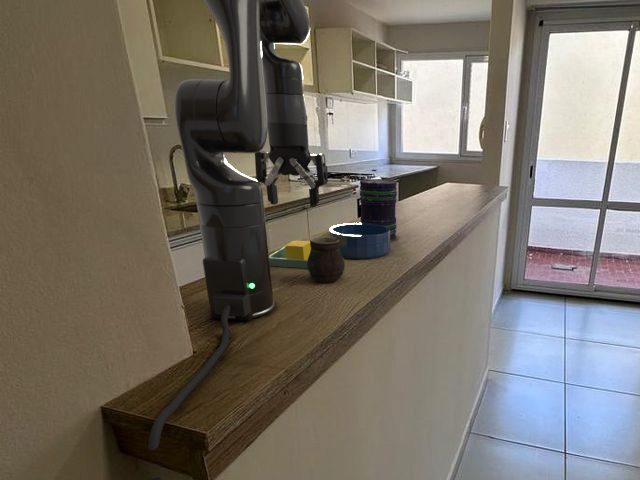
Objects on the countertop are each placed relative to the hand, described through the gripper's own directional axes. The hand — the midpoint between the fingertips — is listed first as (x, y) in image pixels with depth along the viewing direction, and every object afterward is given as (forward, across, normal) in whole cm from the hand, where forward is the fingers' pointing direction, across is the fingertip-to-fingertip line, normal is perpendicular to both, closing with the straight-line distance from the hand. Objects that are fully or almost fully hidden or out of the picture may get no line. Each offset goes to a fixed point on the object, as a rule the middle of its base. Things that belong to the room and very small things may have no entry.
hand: (294, 205), depth 93 cm
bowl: (+13, +11, +12) cm, 21 cm away
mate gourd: (+12, +10, -10) cm, 19 cm away
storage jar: (+13, +12, +28) cm, 33 cm away
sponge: (+12, 0, +1) cm, 12 cm away
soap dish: (+12, 0, +1) cm, 13 cm away
